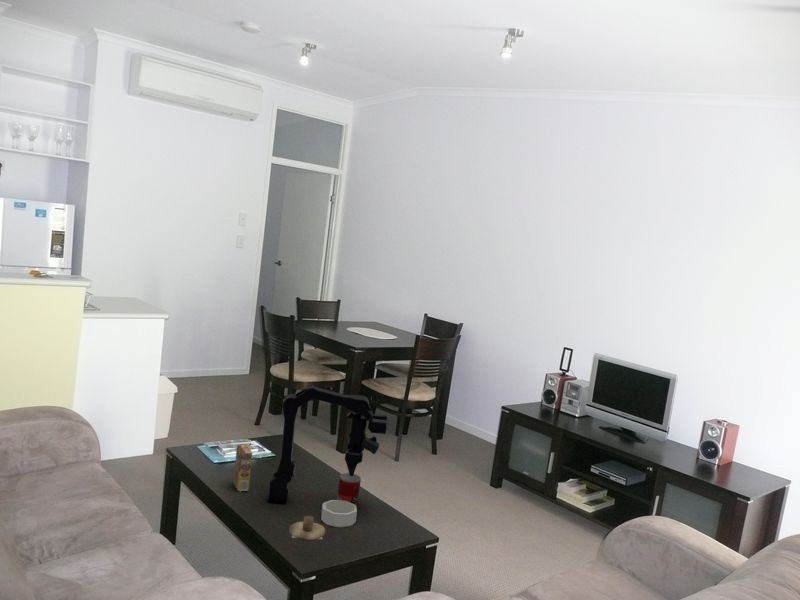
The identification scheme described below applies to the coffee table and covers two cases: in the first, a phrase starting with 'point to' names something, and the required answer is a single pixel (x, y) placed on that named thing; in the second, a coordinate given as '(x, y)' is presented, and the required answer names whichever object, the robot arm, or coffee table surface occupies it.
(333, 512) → the bowl
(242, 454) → the candy box
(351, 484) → the canned food
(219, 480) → the coffee table surface
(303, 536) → the lid
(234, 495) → the coffee table surface
